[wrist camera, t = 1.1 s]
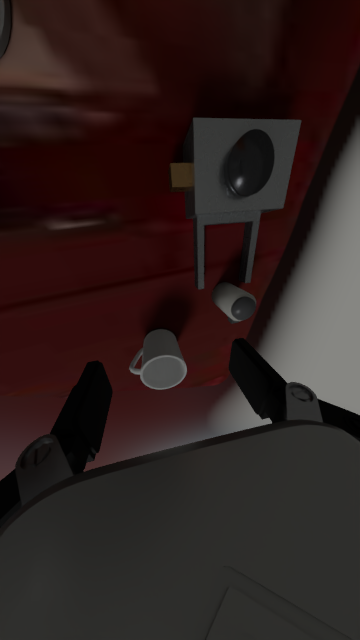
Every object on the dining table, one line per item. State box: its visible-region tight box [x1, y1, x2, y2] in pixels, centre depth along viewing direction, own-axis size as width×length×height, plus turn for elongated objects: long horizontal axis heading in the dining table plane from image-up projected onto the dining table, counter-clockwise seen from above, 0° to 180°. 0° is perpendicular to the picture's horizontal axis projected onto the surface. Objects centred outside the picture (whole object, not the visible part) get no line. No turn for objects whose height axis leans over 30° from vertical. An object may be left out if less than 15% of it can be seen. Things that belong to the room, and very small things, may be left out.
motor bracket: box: [168, 118, 301, 289], centre depth 25 cm, size 21×17×8 cm
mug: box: [129, 328, 187, 389], centre depth 33 cm, size 11×9×10 cm
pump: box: [212, 282, 256, 324], centre depth 31 cm, size 7×6×9 cm
